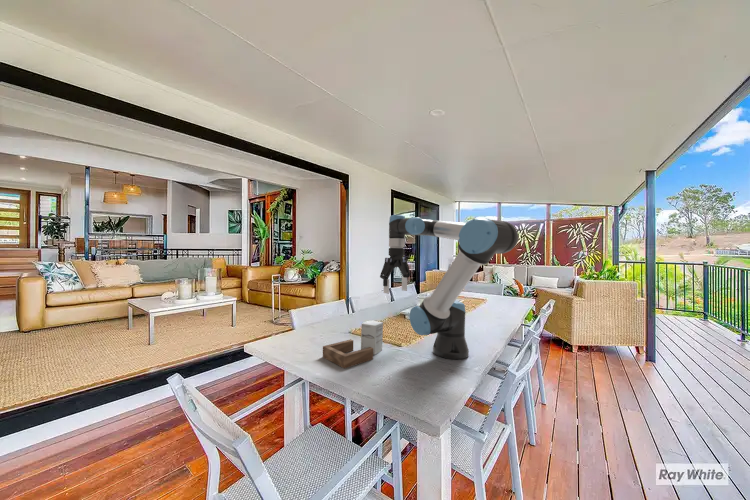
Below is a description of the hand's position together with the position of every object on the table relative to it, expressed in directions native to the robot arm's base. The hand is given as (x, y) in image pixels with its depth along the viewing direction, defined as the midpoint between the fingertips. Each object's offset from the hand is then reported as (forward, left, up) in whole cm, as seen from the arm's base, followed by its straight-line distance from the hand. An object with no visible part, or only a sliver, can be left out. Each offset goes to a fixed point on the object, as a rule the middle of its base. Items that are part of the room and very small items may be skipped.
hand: (395, 291), depth 139 cm
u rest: (-1, +28, -25) cm, 37 cm away
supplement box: (-1, +15, -25) cm, 29 cm away
